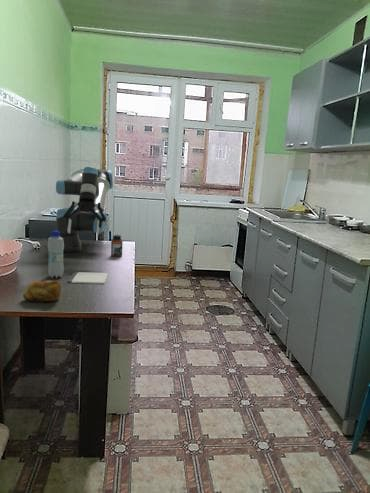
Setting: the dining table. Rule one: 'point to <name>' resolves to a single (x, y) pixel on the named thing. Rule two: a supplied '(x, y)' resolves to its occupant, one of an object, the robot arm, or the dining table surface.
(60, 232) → the robot arm
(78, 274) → the mat
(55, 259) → the bottle
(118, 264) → the dining table surface
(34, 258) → the dining table surface
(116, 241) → the supplement bottle
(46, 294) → the bread roll
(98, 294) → the dining table surface
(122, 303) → the dining table surface
